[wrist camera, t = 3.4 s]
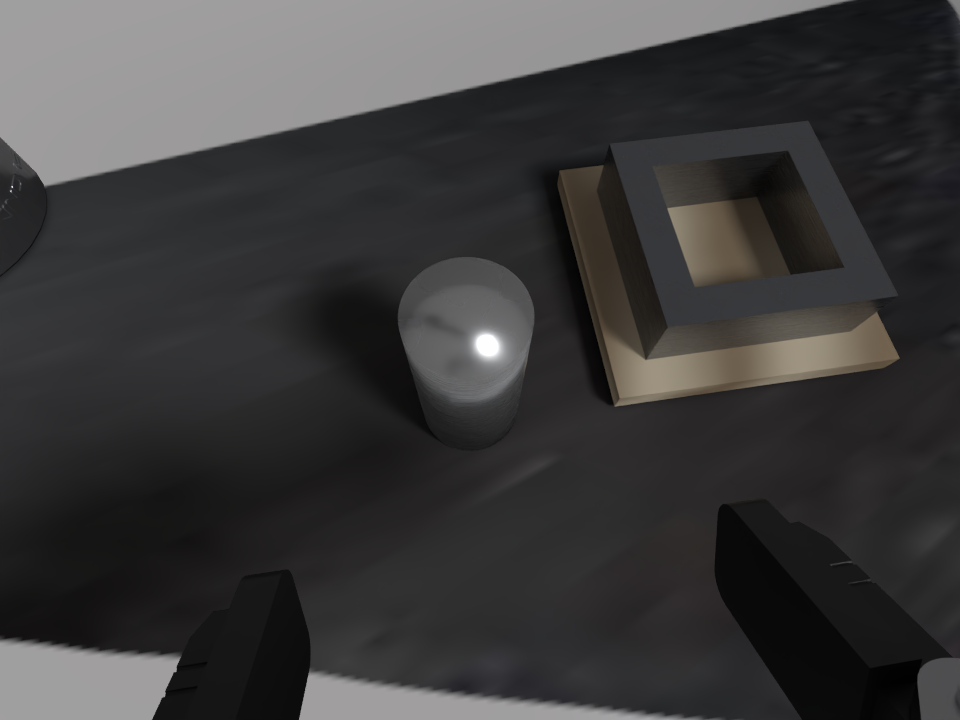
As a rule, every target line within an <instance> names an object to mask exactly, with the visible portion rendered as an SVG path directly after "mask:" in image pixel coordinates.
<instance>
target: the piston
mask: <svg viewBox="0 0 960 720" xmlns="http://www.w3.org/2000/svg"><path fill="white" fill-rule="evenodd" d="M533 325H534V308H533V303H532V300H531V297H530V295H529V293H528V291H527V289H526V287H525V286H524V284H523V283H522V282H521V281H520V280H519V278H518V277H517V276H515V275H514V274H513V273H512V272H511V271H509V270H508V269H506V268H505V267H503V266H501V265H499V264H497V263H495V262H492V261H489V260H485V259H481V258H475V257H460V258H453V259H448V260H445V261H441V262H439V263H436V264H434V265H432V266H430V267H429V268H427V269H425V270H424V271H423V272H421V273H420V274H419V275H418V276H417V277H416V278H414V279H413V281H412V282H411V283H410V284H409V286H408V287H407V289H406V290H405V292H404V294H403V296H402V299H401V302H400V305H399V310H398V326H399V331H400V335H401V338H402V342H403V345H404V348H405V352H406V355H407V359H408V362H409V365H410V369H411V372H412V376H413V379H414V383H415V386H416V389H417V393H418V396H419V400H420V403H421V406H422V410H423V413H424V417H425V420H426V423H427V425H428V427H429V428H430V430H431V431H432V433H433V434H434V435H435V436H436V437H437V438H438V439H439V440H440V441H442V442H443V443H445V444H446V445H448V446H450V447H453V448H456V449H460V450H467V451H473V450H481V449H485V448H487V447H490V446H492V445H494V444H496V443H497V442H499V441H500V440H501V439H502V438H504V437H505V436H506V435H507V433H508V432H509V431H510V429H511V428H512V426H513V424H514V422H515V419H516V416H517V411H518V405H519V400H520V395H521V389H522V384H523V379H524V374H525V368H526V363H527V358H528V352H529V347H530V342H531V337H532V331H533Z"/></svg>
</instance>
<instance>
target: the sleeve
mask: <svg viewBox="0 0 960 720" xmlns="http://www.w3.org/2000/svg"><path fill="white" fill-rule="evenodd" d="M597 194H598V197H599V201H600V204H601V208H602V211H603V215H604V218H605V221H606V225H607V228H608V232H609V235H610V239H611V242H612V245H613V249H614V252H615V256H616V259H617V262H618V266H619V269H620V273H621V276H622V280H623V283H624V286H625V290H626V293H627V297H628V300H629V304H630V307H631V310H632V314H633V317H634V321H635V324H636V327H637V331H638V334H639V338H640V341H641V345H642V348H643V351H644V355H645V358H646V360H650V359H657V358H664V357H671V356H678V355H686V354H693V353H700V352H707V351H714V350H721V349H729V348H736V347H743V346H750V345H757V344H765V343H772V342H779V341H786V340H793V339H801V338H808V337H815V336H822V335H829V334H836V333H844V332H851V331H852V330H853V329H855V328H856V327H857V326H859V325H860V324H861V323H863V322H864V321H866V320H867V319H868V318H870V317H871V316H872V315H874V314H875V313H876V312H878V311H879V310H880V309H882V308H883V307H884V306H886V305H887V304H888V303H890V302H891V301H892V300H894V299H895V298H896V297H898V294H897V292H896V290H895V288H894V286H893V284H892V282H891V281H890V279H889V277H888V275H887V273H886V271H885V269H884V267H883V265H882V263H881V261H880V259H879V257H878V255H877V253H876V251H875V250H874V248H873V246H872V244H871V242H870V240H869V238H868V236H867V234H866V232H865V230H864V228H863V226H862V224H861V222H860V220H859V218H858V217H857V215H856V213H855V211H854V209H853V207H852V205H851V203H850V201H849V199H848V197H847V195H846V193H845V191H844V189H843V187H842V185H841V184H840V182H839V180H838V178H837V176H836V174H835V172H834V170H833V168H832V166H831V164H830V162H829V160H828V158H827V156H826V154H825V153H824V151H823V149H822V147H821V145H820V143H819V141H818V139H817V137H816V135H815V133H814V131H813V129H812V127H811V125H810V123H809V121H803V122H794V123H786V124H777V125H769V126H760V127H751V128H743V129H734V130H725V131H717V132H708V133H700V134H691V135H682V136H674V137H665V138H656V139H648V140H639V141H630V142H622V143H613V144H609V148H608V151H607V155H606V159H605V162H604V166H603V170H602V173H601V177H600V180H599V184H598V188H597ZM753 197H757V199H758V201H759V203H760V206H761V208H762V210H763V212H764V215H765V217H766V219H767V222H768V224H769V226H770V229H771V231H772V233H773V235H774V238H775V240H776V242H777V245H778V247H779V249H780V252H781V254H782V256H783V258H784V261H785V263H786V265H787V268H788V270H789V272H790V275H785V276H778V277H770V278H762V279H755V280H747V281H740V282H732V283H725V284H717V285H709V286H702V287H695V286H694V283H693V280H692V278H691V275H690V272H689V269H688V266H687V263H686V260H685V258H684V255H683V252H682V249H681V246H680V243H679V240H678V238H677V235H676V232H675V229H674V226H673V223H672V221H671V218H670V215H669V212H668V209H667V208H672V207H680V206H688V205H696V204H704V203H712V202H720V201H729V200H737V199H745V198H753Z"/></svg>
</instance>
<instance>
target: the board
mask: <svg viewBox="0 0 960 720" xmlns="http://www.w3.org/2000/svg"><path fill="white" fill-rule="evenodd" d="M603 166H604V165H602V166H593V167H585V168H576V169H568V170H560V172H559V177H558V183H557V186H558V190H559V194H560V197H561V201H562V205H563V209H564V213H565V217H566V221H567V224H568V228H569V232H570V236H571V240H572V244H573V248H574V252H575V255H576V259H577V263H578V267H579V271H580V275H581V279H582V283H583V286H584V290H585V294H586V298H587V302H588V306H589V310H590V314H591V317H592V321H593V325H594V329H595V333H596V337H597V341H598V345H599V348H600V352H601V356H602V360H603V364H604V368H605V372H606V376H607V379H608V383H609V387H610V391H611V395H612V399H613V403H614V406H622V405H629V404H636V403H642V402H649V401H656V400H663V399H670V398H677V397H684V396H691V395H698V394H705V393H712V392H719V391H726V390H733V389H740V388H747V387H754V386H761V385H768V384H775V383H782V382H789V381H796V380H803V379H810V378H817V377H824V376H830V375H837V374H844V373H851V372H858V371H865V370H872V369H879V368H884V367H886V366H888V365H889V364H891V363H893V362H895V361H896V360H898V359H900V358H899V356H898V354H897V352H896V350H895V348H894V346H893V344H892V342H891V340H890V338H889V336H888V334H887V332H886V330H885V328H884V326H883V324H882V322H881V320H880V318H879V316H878V314H877V312H876V313H875V314H874V315H872V316H871V317H870V318H868V319H867V320H866V321H864V322H863V323H861V324H860V325H859V326H857V327H856V328H855V329H853V330H852V331H851V332H844V333H836V334H829V335H822V336H815V337H808V338H801V339H793V340H786V341H779V342H772V343H765V344H757V345H750V346H743V347H736V348H729V349H721V350H714V351H707V352H700V353H693V354H686V355H678V356H671V357H664V358H657V359H650V360H646V358H645V355H644V351H643V348H642V345H641V341H640V338H639V334H638V331H637V327H636V324H635V321H634V317H633V314H632V310H631V307H630V304H629V300H628V297H627V293H626V290H625V286H624V283H623V280H622V276H621V273H620V269H619V266H618V262H617V259H616V256H615V252H614V249H613V245H612V242H611V239H610V235H609V232H608V228H607V225H606V221H605V218H604V215H603V211H602V208H601V204H600V201H599V197H598V194H597V188H598V184H599V180H600V177H601V173H602V170H603ZM667 209H668V212H669V215H670V218H671V221H672V223H673V226H674V229H675V232H676V235H677V238H678V240H679V243H680V246H681V249H682V252H683V255H684V258H685V260H686V263H687V266H688V269H689V272H690V275H691V278H692V280H693V283H694V286H695V287H702V286H709V285H717V284H725V283H732V282H740V281H747V280H755V279H762V278H770V277H778V276H785V275H790V272H789V270H788V268H787V265H786V263H785V261H784V258H783V256H782V254H781V252H780V249H779V247H778V245H777V242H776V240H775V238H774V235H773V233H772V231H771V229H770V226H769V224H768V222H767V219H766V217H765V215H764V212H763V210H762V208H761V206H760V203H759V201H758V199H757V197H753V198H745V199H737V200H729V201H720V202H712V203H704V204H696V205H688V206H680V207H672V208H667Z"/></svg>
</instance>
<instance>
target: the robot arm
mask: <svg viewBox="0 0 960 720" xmlns="http://www.w3.org/2000/svg"><path fill="white" fill-rule="evenodd" d="M46 201H47V197H46V193H45V189H44V184H43V183H42V181H41V180H40V178H39V176H38V175H37V173H36V172H35V171H34V170H33V169H32V168H31V167H30V166H29V165H28V164H27V163H26V162H25V161H24V160H23V159H21V157H20V156H19V155H18V154H17V153H16V152H15V151H14V150H12V148H10V146H8V145H7V144H6V143H5V142H4V141H3V140H2V139H1V138H0V275H1V274H3V273H4V272H5V271H6V270H7V269H9V268H10V267H11V266H12V265H13V264H14V263H16V262H17V261H18V260H19V259H20V257H21V256H22V255H23V254H24V253H25V252H26V250H27V249H28V248H29V247H30V246H31V244H32V243H33V241H34V239H35V237H36V236H37V234H38V232H39V231H40V229H41V226H42V223H43V220H44V217H45V214H46ZM715 578H716V583H717V586H718V590H719V592H720V595H721V597H722V599H723V601H724V603H725V605H726V606H727V608H728V609H729V611H730V612H731V614H732V615H733V617H734V618H735V620H736V621H737V623H738V624H739V626H740V627H741V629H742V630H743V632H744V633H745V635H746V636H747V638H748V639H749V641H750V642H751V644H752V645H753V647H754V648H755V650H756V651H757V653H758V654H759V656H760V657H761V659H762V660H763V662H764V663H765V665H766V666H767V668H768V669H769V671H770V672H771V674H772V675H773V677H774V678H775V680H776V681H777V683H778V684H779V686H780V687H781V689H782V690H783V692H784V693H785V695H786V696H787V698H788V699H789V701H790V702H791V704H792V705H793V707H794V708H795V710H796V711H797V713H798V714H799V716H800V717H801V719H802V720H960V659H959V658H953V657H952V656H951V655H950V654H949V653H948V652H947V651H946V650H945V649H944V648H943V647H942V646H941V645H939V644H938V643H937V642H936V641H935V640H934V639H933V638H932V637H931V636H930V635H929V634H928V633H927V632H926V631H925V630H924V629H923V628H922V627H921V626H920V625H919V624H918V623H917V622H916V621H915V620H913V619H912V618H911V617H910V616H909V615H908V614H907V613H906V612H905V611H904V610H903V609H902V608H901V607H900V606H899V605H898V604H897V603H896V602H895V601H894V600H893V599H892V598H891V597H890V596H889V595H887V594H886V593H885V592H884V591H883V590H882V589H881V588H880V587H879V586H878V585H877V584H876V583H872V582H871V578H870V577H869V576H868V575H867V574H866V573H865V572H864V571H862V570H861V569H860V568H859V567H858V566H857V565H853V563H852V560H851V559H850V558H849V557H848V556H847V555H846V554H845V553H844V552H843V551H842V550H841V549H840V548H839V547H838V546H836V545H835V544H834V543H833V542H832V541H831V540H830V539H829V538H827V537H826V536H824V535H822V534H820V533H818V532H817V531H815V530H813V529H811V528H810V527H808V526H806V525H804V524H802V523H801V522H795V523H789V522H788V521H787V520H786V519H785V518H784V517H783V516H782V515H781V514H780V513H779V512H778V511H777V510H776V509H775V508H774V507H773V506H772V505H771V504H770V503H769V502H768V501H767V500H765V499H754V500H748V501H741V502H735V503H728V504H723V505H721V506H720V508H719V511H718V521H717V536H716V552H715ZM309 668H310V638H309V632H308V629H307V625H306V622H305V618H304V615H303V611H302V608H301V604H300V601H299V597H298V594H297V590H296V587H295V583H294V580H293V577H292V574H291V573H290V571H289V570H280V571H274V572H267V573H261V574H254V575H248V576H244V577H243V578H242V580H241V582H240V584H239V586H238V588H237V591H236V593H235V596H234V598H233V601H232V603H231V606H230V608H229V609H226V610H220V611H214V612H213V613H212V614H211V615H210V616H209V617H208V618H207V619H206V620H205V622H204V623H203V624H202V625H201V626H200V627H199V628H198V629H197V631H196V632H195V633H194V634H193V635H192V636H191V637H190V639H189V641H188V643H187V645H186V648H185V650H184V652H183V654H182V656H181V658H180V661H179V663H178V665H177V672H174V674H173V676H172V678H171V680H170V682H169V684H168V686H167V689H166V691H165V692H166V695H165V697H163V698H162V700H161V702H160V704H159V706H158V708H157V710H156V712H155V715H154V717H153V719H152V720H299V717H300V711H301V706H302V702H303V697H304V693H305V687H306V683H307V678H308V673H309Z"/></svg>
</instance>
